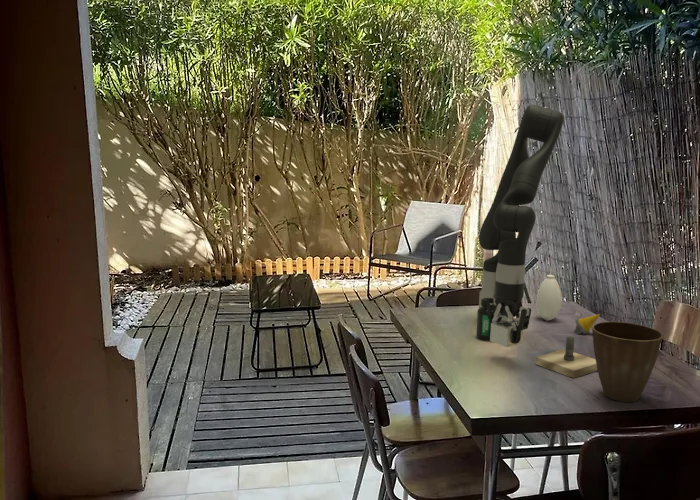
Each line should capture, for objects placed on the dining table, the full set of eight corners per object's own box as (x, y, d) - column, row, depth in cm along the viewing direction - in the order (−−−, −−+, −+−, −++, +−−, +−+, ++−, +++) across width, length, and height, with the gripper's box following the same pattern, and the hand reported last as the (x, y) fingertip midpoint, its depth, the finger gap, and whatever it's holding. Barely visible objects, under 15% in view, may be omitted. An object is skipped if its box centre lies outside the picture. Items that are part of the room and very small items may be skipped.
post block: (535, 363, 164) (537, 335, 162) (563, 355, 170) (565, 328, 169) (573, 378, 154) (575, 347, 153) (602, 369, 161) (604, 339, 159)
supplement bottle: (487, 342, 181) (489, 303, 179) (471, 336, 187) (473, 298, 185) (503, 339, 185) (505, 300, 183) (487, 333, 191) (489, 295, 189)
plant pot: (579, 382, 151) (584, 320, 149) (642, 385, 150) (648, 322, 147) (597, 407, 137) (603, 339, 134) (667, 411, 135) (674, 342, 133)
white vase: (549, 324, 201) (553, 270, 198) (530, 318, 207) (533, 266, 204) (564, 320, 205) (568, 268, 202) (545, 315, 211) (549, 264, 208)
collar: (489, 340, 167) (491, 322, 166) (505, 336, 170) (506, 319, 169) (506, 346, 162) (507, 328, 161) (522, 343, 165) (523, 325, 164)
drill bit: (577, 330, 196) (603, 313, 191) (581, 341, 192) (607, 324, 187) (566, 321, 195) (592, 304, 190) (569, 332, 190) (596, 315, 185)
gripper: (541, 283, 159) (536, 345, 162) (499, 272, 171) (496, 330, 174) (521, 287, 155) (516, 350, 158) (480, 275, 167) (477, 334, 170)
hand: (506, 339), depth 166 cm, fingers closed on collar, 6 cm apart
